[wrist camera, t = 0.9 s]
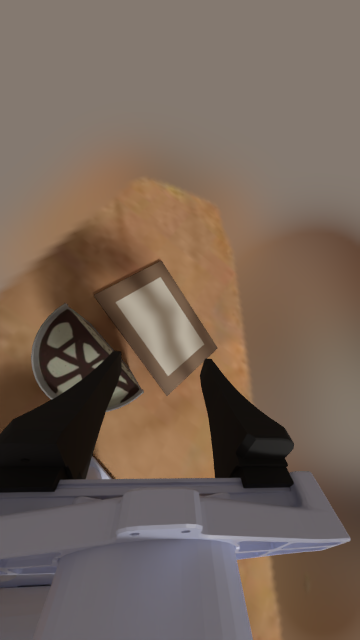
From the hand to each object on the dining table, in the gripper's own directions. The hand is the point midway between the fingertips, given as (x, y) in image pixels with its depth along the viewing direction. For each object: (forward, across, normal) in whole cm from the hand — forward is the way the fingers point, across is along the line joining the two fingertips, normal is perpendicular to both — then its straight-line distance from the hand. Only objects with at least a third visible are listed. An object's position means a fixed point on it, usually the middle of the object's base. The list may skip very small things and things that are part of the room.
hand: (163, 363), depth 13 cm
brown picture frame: (+14, 0, +4) cm, 15 cm away
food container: (+8, +10, +8) cm, 15 cm away
